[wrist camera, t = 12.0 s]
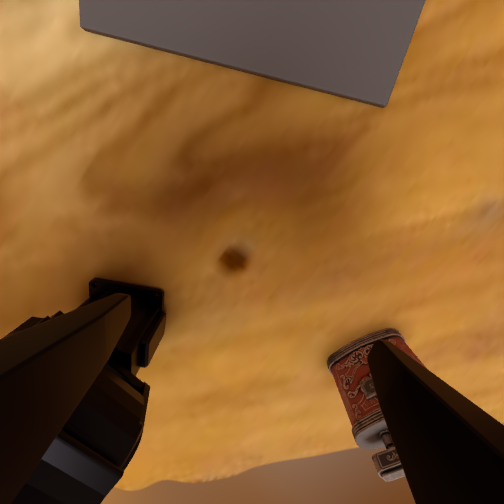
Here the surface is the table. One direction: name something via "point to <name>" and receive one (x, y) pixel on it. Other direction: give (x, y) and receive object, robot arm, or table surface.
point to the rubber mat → (274, 38)
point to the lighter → (367, 399)
